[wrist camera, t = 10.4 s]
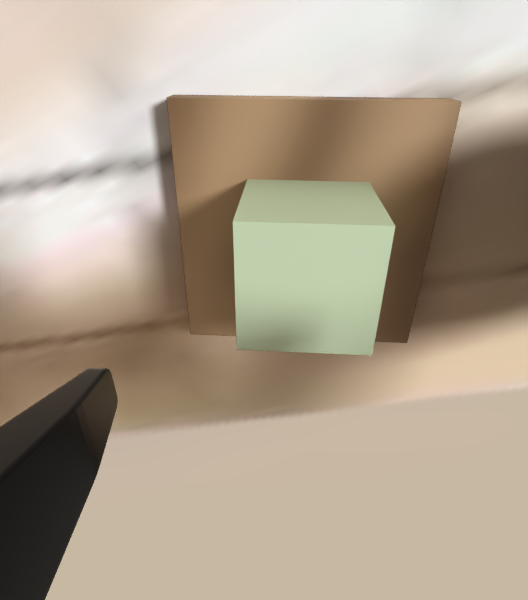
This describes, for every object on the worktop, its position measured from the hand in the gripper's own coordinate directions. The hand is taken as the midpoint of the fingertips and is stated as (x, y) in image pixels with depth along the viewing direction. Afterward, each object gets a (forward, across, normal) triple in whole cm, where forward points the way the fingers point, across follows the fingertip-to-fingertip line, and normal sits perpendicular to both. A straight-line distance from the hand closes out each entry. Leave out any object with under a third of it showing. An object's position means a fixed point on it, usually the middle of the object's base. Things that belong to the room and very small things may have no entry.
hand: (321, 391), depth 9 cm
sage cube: (+11, 0, +1) cm, 11 cm away
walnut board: (+12, 0, +1) cm, 12 cm away
